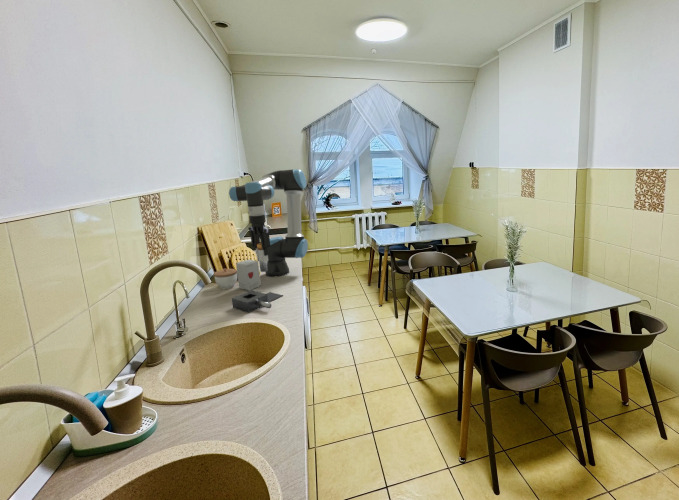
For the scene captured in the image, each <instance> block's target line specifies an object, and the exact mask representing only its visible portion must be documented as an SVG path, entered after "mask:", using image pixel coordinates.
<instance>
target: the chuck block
mask: <svg viewBox="0 0 679 500" xmlns="http://www.w3.org/2000/svg"><path fill="white" fill-rule="evenodd" d="M231 304H232V309H236V310H238V311H242V312H245V313H252V312H253V311H256V310H258V309H260V308H266V309H271V308H272V303H271V302H269V303H268V296H267V293H264V292H261V291H256V290H253V289H251V290H247V291H246V292H243V293H240V294H239V295H236V296H233V297H231Z"/></svg>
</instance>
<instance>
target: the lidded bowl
mask: <svg viewBox="0 0 679 500" xmlns="http://www.w3.org/2000/svg"><path fill="white" fill-rule="evenodd" d="M213 277H214V281H215V283H216V285H217V286H218V287H219V288H220V289H222V290H227V289H231V288H234V287H235V285H236V284H237V282H238V275H237V268H226V267H225V268H223V269H220V270H217V271H214V272H213Z"/></svg>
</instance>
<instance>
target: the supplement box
mask: <svg viewBox="0 0 679 500" xmlns="http://www.w3.org/2000/svg"><path fill="white" fill-rule="evenodd" d="M235 267H236V270H237V283H238V288H239V289H242V290H246V291H251V290H253V289H256V288H258V287H261V286H262V283H261V276H260V265H259V261H257V260H253V259H245V260H242V261H238V262H236V263H235Z"/></svg>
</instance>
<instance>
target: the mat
mask: <svg viewBox="0 0 679 500" xmlns="http://www.w3.org/2000/svg"><path fill="white" fill-rule="evenodd" d="M266 294H267V296H268V303H271V302H273V301H275V300H277V299H279V298H282V297H284V295H283V294H280V293H275V292H271V291H269V292H267V293H266Z"/></svg>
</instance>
